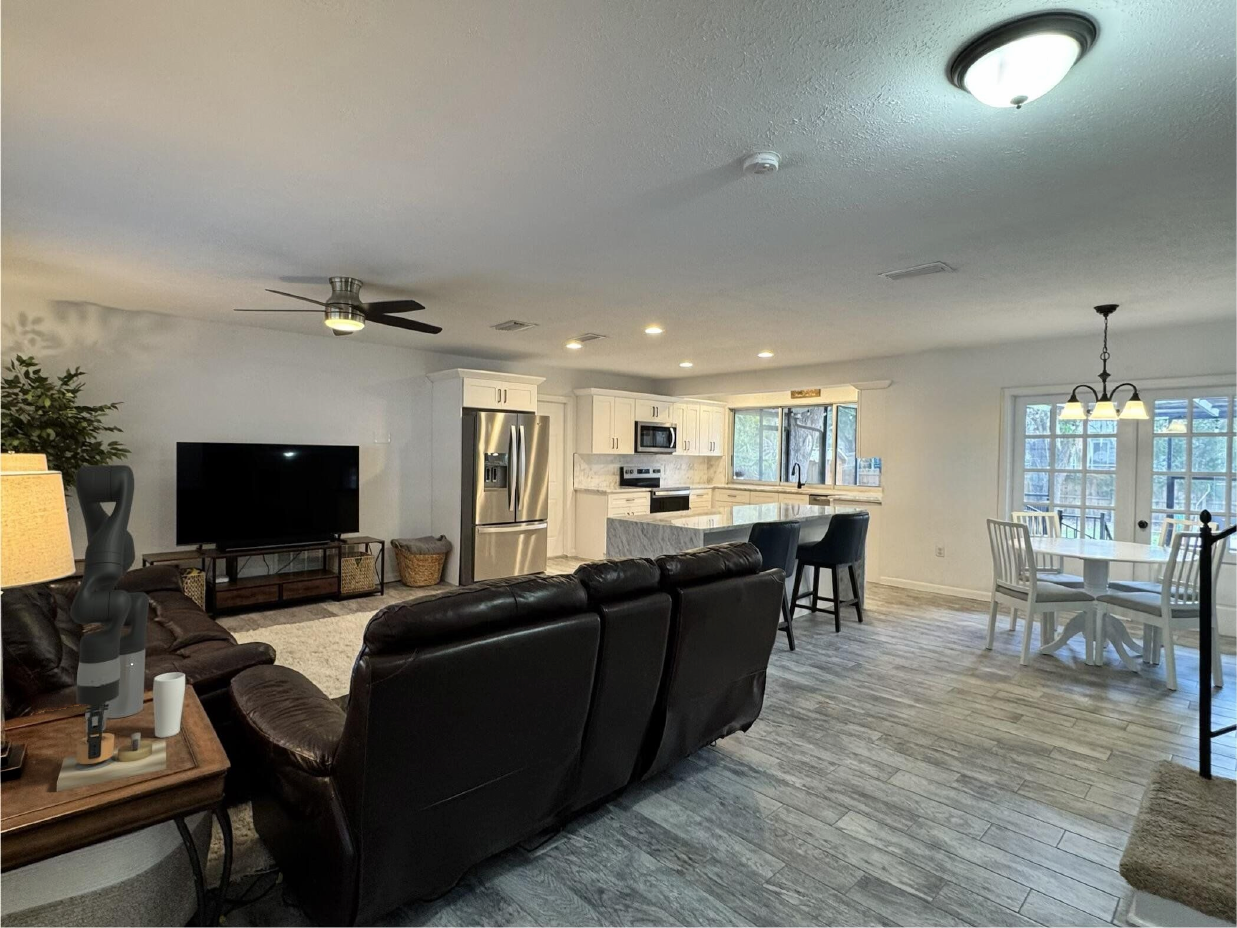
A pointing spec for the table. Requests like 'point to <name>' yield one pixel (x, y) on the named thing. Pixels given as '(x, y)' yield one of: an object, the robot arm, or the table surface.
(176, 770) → the table surface
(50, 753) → the table surface
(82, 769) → the gear board
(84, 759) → the gear
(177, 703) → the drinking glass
